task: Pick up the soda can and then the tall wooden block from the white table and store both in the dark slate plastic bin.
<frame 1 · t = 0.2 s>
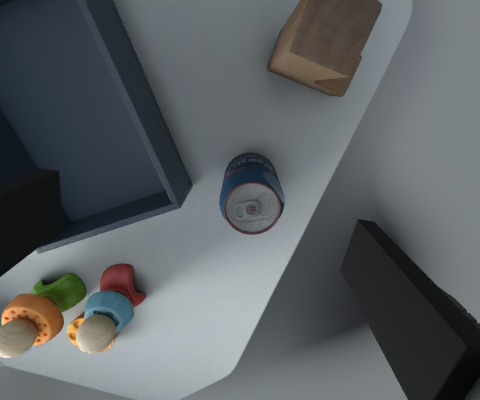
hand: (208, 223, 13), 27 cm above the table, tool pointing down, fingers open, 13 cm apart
soda can: (249, 174, 39), on the table
stacking toy: (102, 300, 48), on the table
wooden block: (307, 64, 34), on the table
bin: (82, 113, 37), on the table
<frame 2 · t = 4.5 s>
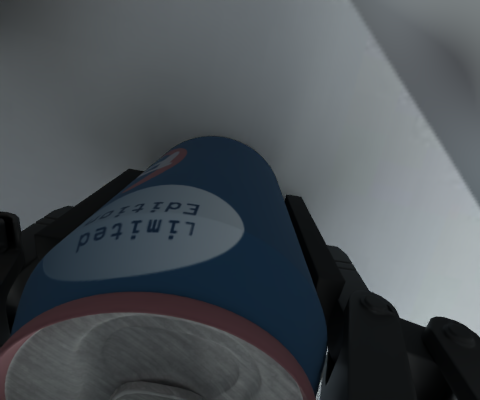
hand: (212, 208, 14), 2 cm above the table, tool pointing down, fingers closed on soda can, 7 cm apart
soda can: (216, 193, 16), on the table, touching gripper
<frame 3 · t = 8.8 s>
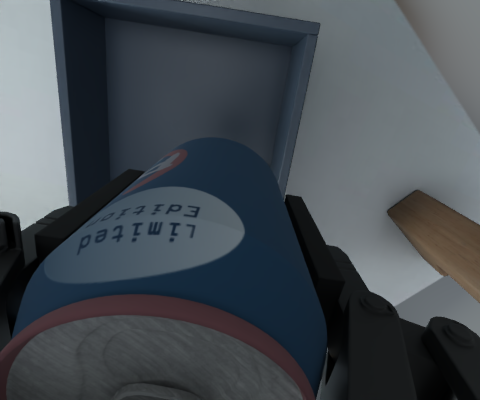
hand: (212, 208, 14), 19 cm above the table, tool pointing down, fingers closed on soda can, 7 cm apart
soda can: (216, 193, 16), point 17 cm above the table, touching gripper
wooden block: (419, 223, 35), on the table
bin: (191, 161, 33), on the table
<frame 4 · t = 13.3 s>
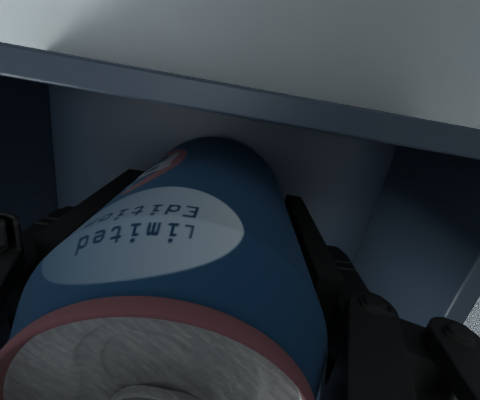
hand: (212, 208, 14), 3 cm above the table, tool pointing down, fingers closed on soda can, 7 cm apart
soda can: (216, 193, 16), point 1 cm above the table, touching bin, gripper
bin: (202, 294, 20), on the table
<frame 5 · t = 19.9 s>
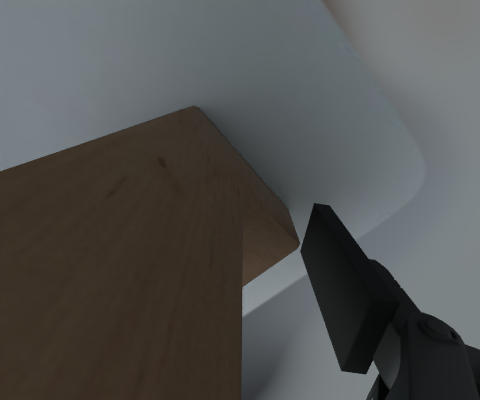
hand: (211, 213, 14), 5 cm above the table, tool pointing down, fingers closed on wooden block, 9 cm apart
wooden block: (219, 182, 18), on the table, touching gripper
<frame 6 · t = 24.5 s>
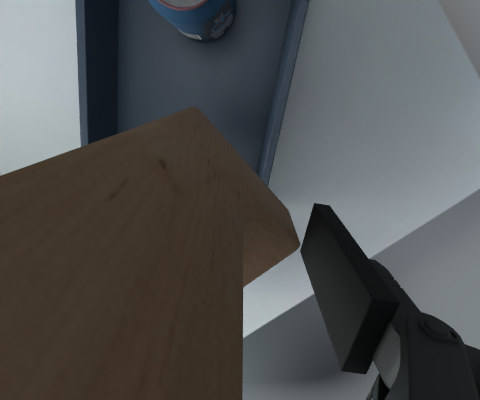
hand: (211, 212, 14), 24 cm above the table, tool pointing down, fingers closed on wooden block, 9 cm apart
soda can: (204, 7, 30), point 1 cm above the table, touching bin
wooden block: (219, 182, 18), point 19 cm above the table, touching gripper
bin: (197, 86, 34), on the table
when the fingers open (6 cm above the table, at t = 29.4 s): wooden block stays where it is, resting on bin.
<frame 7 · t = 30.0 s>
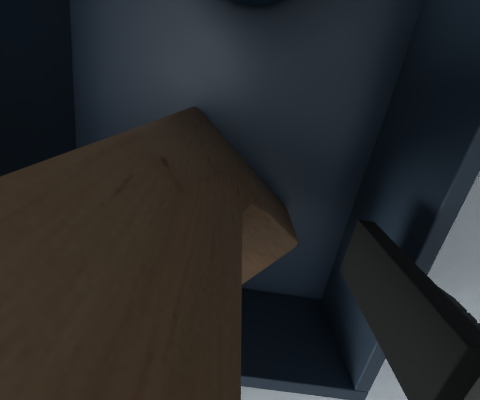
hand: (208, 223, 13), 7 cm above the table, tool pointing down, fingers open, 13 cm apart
wooden block: (219, 181, 18), point 1 cm above the table, touching bin
bin: (231, 100, 17), on the table
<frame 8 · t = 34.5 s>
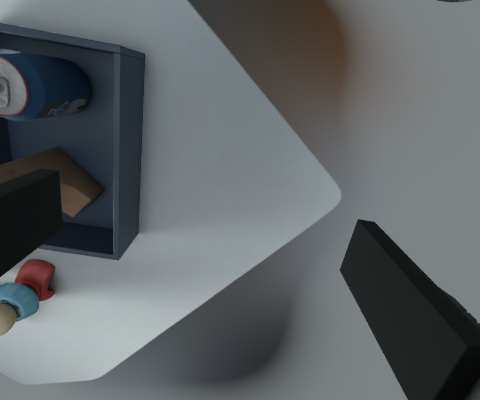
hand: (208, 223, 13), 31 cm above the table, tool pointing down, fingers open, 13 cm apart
soda can: (69, 87, 38), point 1 cm above the table, touching bin
stacking toy: (12, 281, 52), on the table
wooden block: (74, 177, 43), point 1 cm above the table, touching bin
bin: (75, 143, 42), on the table
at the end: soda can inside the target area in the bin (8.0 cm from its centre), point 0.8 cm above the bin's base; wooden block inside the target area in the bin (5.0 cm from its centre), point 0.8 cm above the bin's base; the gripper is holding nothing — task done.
